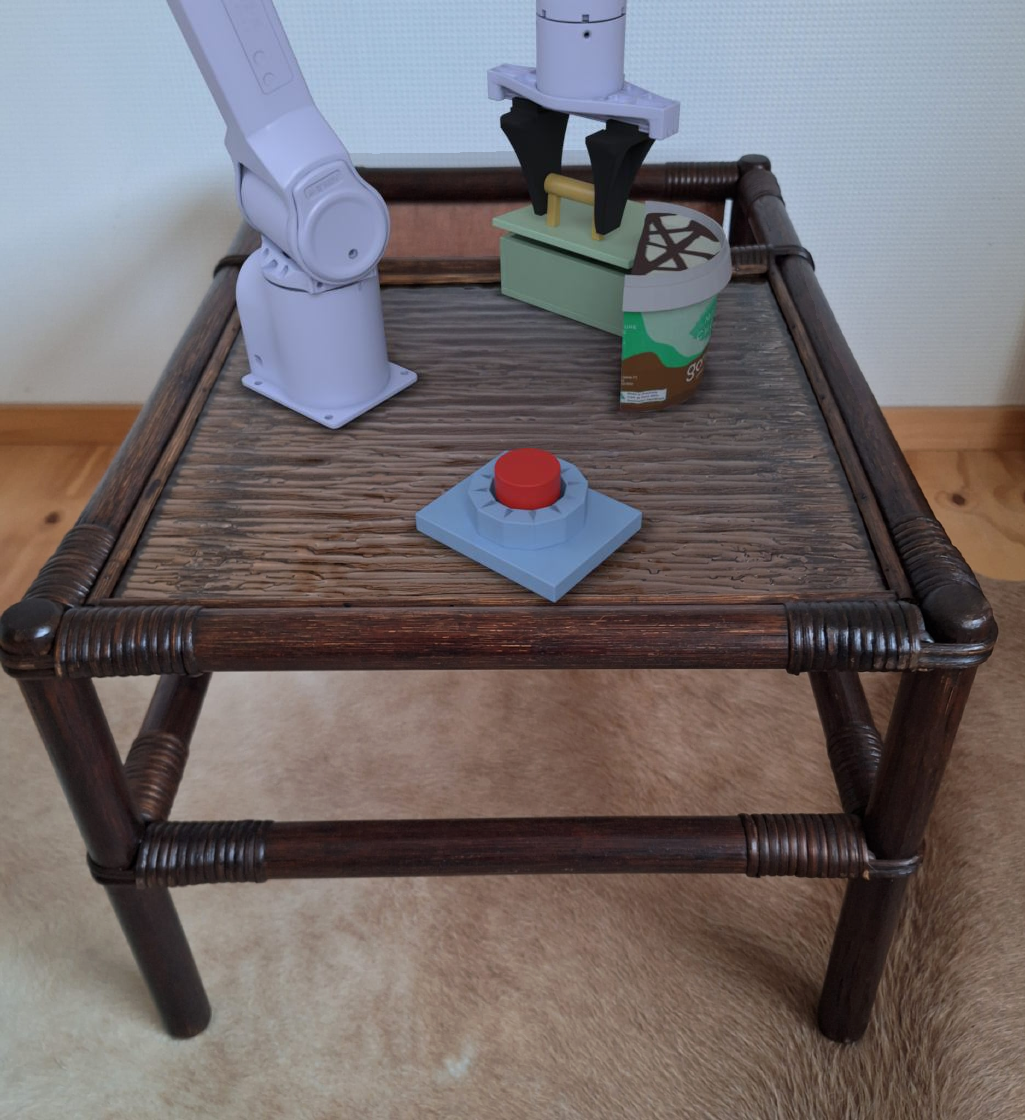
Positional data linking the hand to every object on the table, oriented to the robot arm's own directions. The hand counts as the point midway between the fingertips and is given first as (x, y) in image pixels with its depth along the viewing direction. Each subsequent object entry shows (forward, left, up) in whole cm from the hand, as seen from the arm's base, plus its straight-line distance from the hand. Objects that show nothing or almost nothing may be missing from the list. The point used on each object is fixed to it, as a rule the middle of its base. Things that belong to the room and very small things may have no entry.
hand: (577, 220), depth 77 cm
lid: (0, +3, -2) cm, 4 cm away
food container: (+12, -4, -7) cm, 14 cm away
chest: (0, +4, -7) cm, 8 cm away
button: (+14, -23, -4) cm, 27 cm away
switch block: (+14, -23, -7) cm, 28 cm away
